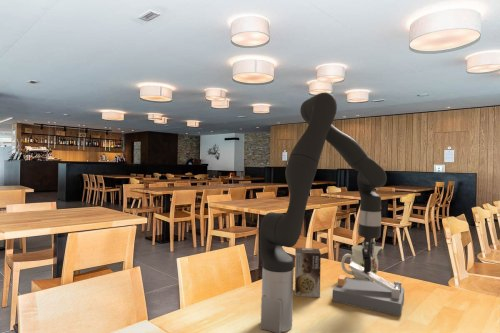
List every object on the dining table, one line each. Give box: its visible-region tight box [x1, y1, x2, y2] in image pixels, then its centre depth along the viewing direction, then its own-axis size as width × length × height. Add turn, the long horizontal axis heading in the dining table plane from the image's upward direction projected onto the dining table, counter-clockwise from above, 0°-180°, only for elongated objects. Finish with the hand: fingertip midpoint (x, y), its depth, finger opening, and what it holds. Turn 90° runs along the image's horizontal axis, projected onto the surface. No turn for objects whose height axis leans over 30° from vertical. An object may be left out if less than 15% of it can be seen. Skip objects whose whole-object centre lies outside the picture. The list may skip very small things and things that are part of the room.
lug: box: [337, 274, 348, 286], centre depth 125 cm, size 5×2×2 cm, turn 152°
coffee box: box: [294, 247, 322, 298], centre depth 125 cm, size 9×6×16 cm
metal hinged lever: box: [348, 261, 400, 291], centre depth 120 cm, size 6×18×2 cm, turn 62°
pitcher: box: [340, 244, 384, 282], centre depth 141 cm, size 11×18×14 cm, turn 99°
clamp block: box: [331, 276, 405, 317], centre depth 121 cm, size 16×22×7 cm
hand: (367, 271), depth 121 cm, fingers closed
